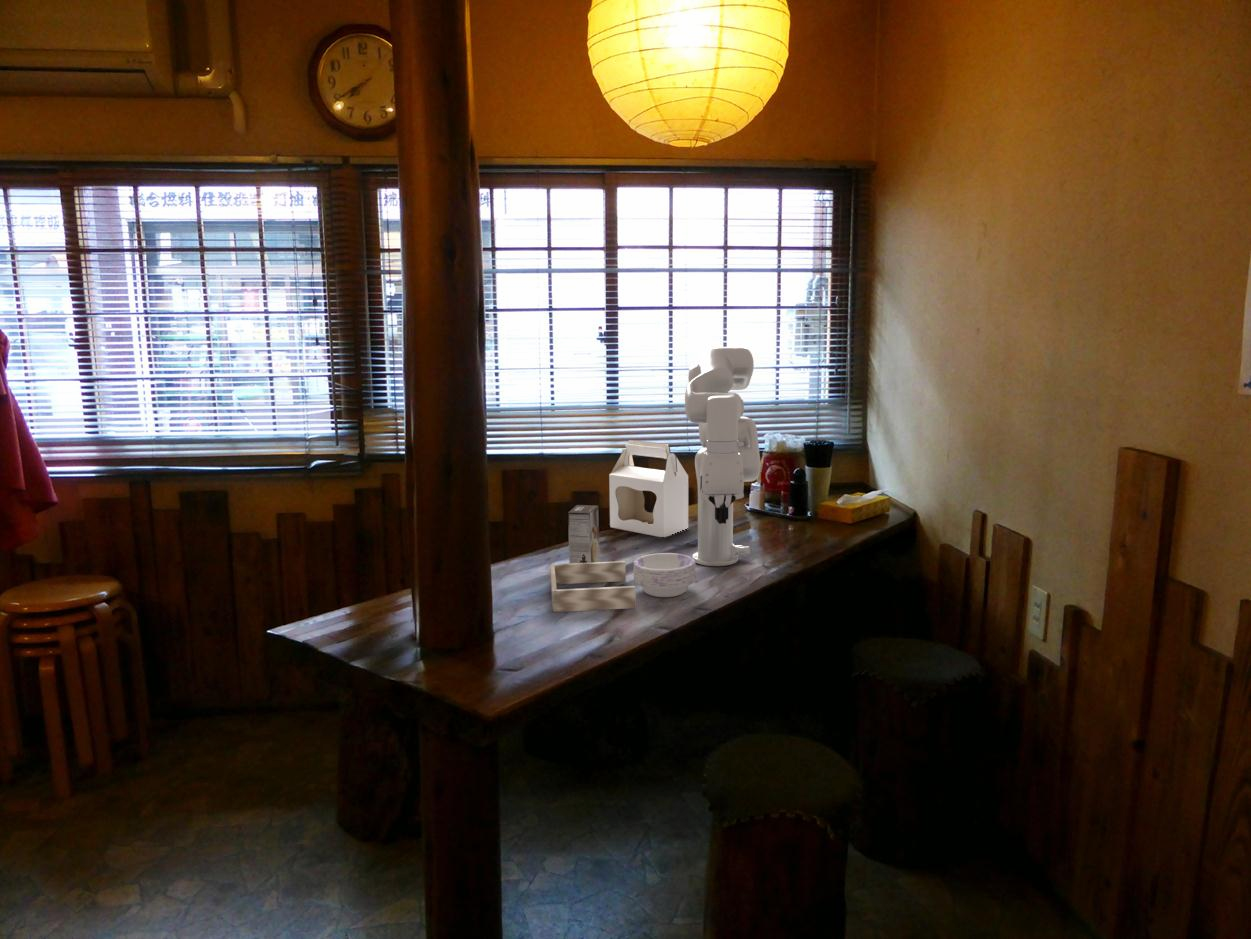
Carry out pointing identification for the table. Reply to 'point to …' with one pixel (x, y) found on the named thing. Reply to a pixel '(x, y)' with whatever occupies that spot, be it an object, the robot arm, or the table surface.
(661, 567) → the paper bowls
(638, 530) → the gable box
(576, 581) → the box
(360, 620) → the table surface
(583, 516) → the coffee box
